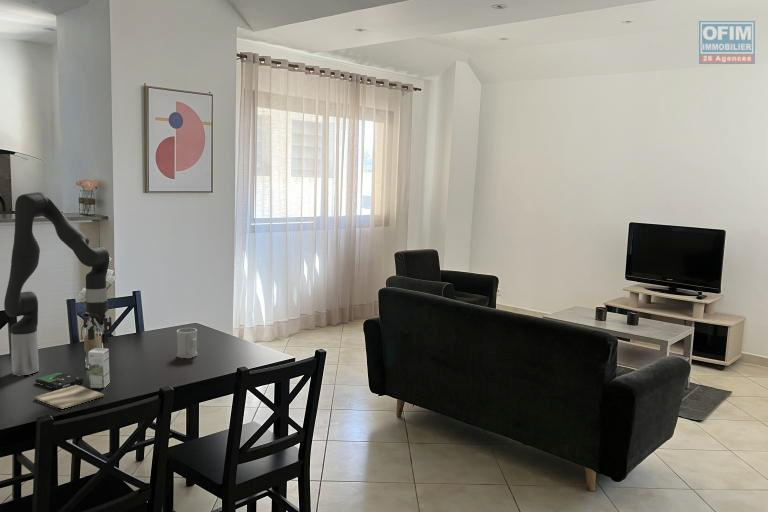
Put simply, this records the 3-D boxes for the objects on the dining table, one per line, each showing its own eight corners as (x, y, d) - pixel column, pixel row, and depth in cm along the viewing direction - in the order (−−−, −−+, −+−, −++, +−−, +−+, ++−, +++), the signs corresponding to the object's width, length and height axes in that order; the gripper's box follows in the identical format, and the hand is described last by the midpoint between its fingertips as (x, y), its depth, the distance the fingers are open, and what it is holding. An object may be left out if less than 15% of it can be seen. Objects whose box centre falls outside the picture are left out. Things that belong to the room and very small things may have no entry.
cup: (203, 353, 285) (203, 328, 283) (196, 359, 276) (195, 333, 274) (182, 352, 286) (181, 327, 284) (173, 358, 277) (173, 332, 275)
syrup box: (110, 383, 242) (109, 347, 240) (104, 389, 236) (102, 352, 234) (95, 383, 242) (94, 347, 240) (88, 388, 236) (87, 351, 234)
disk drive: (84, 384, 242) (59, 377, 249) (83, 377, 242) (59, 370, 249) (59, 392, 233) (34, 384, 240) (59, 385, 233) (34, 377, 239)
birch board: (34, 399, 223) (34, 396, 223) (76, 387, 237) (76, 384, 237) (62, 410, 215) (61, 407, 214) (104, 397, 228) (103, 394, 228)
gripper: (76, 298, 235) (77, 340, 237) (98, 303, 228) (100, 346, 230) (94, 295, 241) (95, 336, 243) (117, 300, 234) (118, 342, 236)
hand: (98, 341), depth 237 cm, fingers open, 8 cm apart
